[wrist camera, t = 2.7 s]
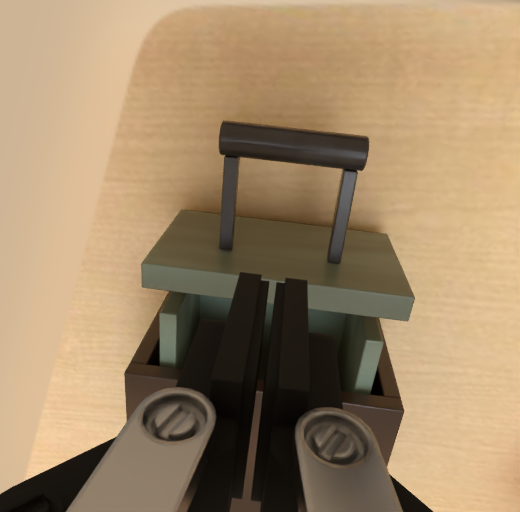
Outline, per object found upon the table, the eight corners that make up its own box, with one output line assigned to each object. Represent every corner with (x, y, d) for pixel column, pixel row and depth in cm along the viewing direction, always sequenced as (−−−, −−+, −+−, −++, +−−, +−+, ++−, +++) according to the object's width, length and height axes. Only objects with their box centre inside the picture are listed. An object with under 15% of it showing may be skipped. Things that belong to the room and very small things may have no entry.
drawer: (183, 101, 22) (137, 122, 16) (412, 126, 22) (455, 158, 16) (178, 394, 31) (146, 481, 24) (344, 417, 30) (354, 512, 24)
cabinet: (174, 281, 28) (123, 373, 20) (376, 307, 27) (405, 411, 20) (172, 447, 34) (133, 565, 26) (336, 470, 34) (346, 598, 26)
